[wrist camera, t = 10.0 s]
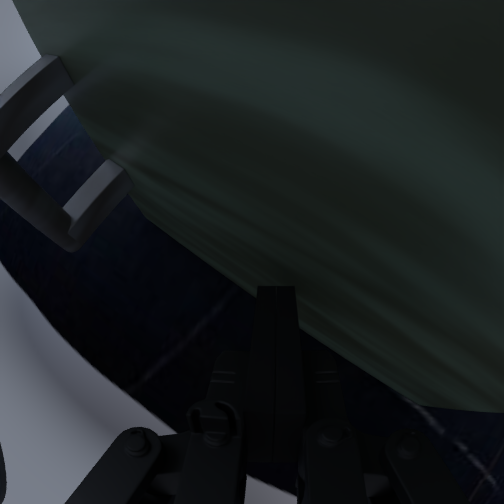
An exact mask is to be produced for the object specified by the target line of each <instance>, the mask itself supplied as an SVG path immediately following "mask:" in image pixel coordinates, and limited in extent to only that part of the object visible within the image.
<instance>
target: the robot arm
mask: <svg viewBox="0 0 504 504" xmlns="http://www.w3.org/2000/svg"><path fill="white" fill-rule="evenodd" d="M186 418H187V421H188V424H189V427H190V430H188V431H186V432H183V433H179V434H172V435H163V436H158V435H157V434H156V433H155V432H154V431H152V430H151V429H148V428H144V427H134V428H130V429H127V430H125V431H123V432H122V433H121V434H120V435H119V436H118V437H117V438H116V439H115V440H114V442H113V443H112V444H111V446H110V447H109V448H108V450H107V451H106V452H105V453H104V454H103V456H102V457H101V459H100V460H99V461H98V462H97V463H96V465H95V466H94V467H93V468H92V470H91V471H90V472H89V473H88V475H87V476H86V477H85V478H84V480H83V481H82V482H81V484H80V485H79V486H78V487H77V489H76V490H75V491H74V492H73V494H72V495H71V496H70V497H69V499H68V500H67V501H66V502H65V504H244V499H245V490H246V480H247V476H246V466H247V462H272V455H273V462H298V470H299V472H298V476H297V480H296V484H295V487H297V504H470V502H469V501H468V499H467V498H466V496H465V494H464V493H463V491H462V490H461V488H460V486H459V485H458V483H457V482H456V480H455V479H454V477H453V475H452V474H451V472H450V471H449V469H448V468H447V466H446V465H445V463H444V462H443V460H442V459H441V457H440V455H439V454H438V452H437V451H436V449H435V448H434V446H433V445H432V443H431V442H430V440H429V439H428V438H427V437H426V436H425V435H424V434H423V433H422V432H420V431H417V430H415V429H407V428H406V429H401V430H397V431H396V432H394V433H393V434H391V435H390V436H389V438H388V437H381V436H374V435H369V434H365V433H362V432H360V431H358V430H357V429H356V428H354V427H353V426H352V425H351V423H350V422H349V420H348V417H347V414H346V408H345V403H344V398H343V393H342V388H341V383H340V379H339V374H338V369H337V365H336V360H335V359H334V357H333V356H332V355H331V354H330V353H329V351H328V350H318V351H301V341H300V331H299V321H298V312H297V303H296V294H295V286H258V288H257V297H256V306H255V314H254V323H253V332H252V340H251V349H250V351H223V352H222V353H221V354H220V355H219V357H218V358H217V359H216V360H215V364H214V368H213V373H212V376H211V380H210V384H209V388H208V392H207V396H206V399H203V400H201V401H198V402H196V403H195V404H194V405H192V406H191V407H190V408H189V410H188V412H187V413H186ZM273 434H274V441H273Z"/></svg>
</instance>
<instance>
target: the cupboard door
mask: <svg viewBox="0 0 504 504" xmlns="http://www.w3.org/2000/svg"><path fill="white" fill-rule="evenodd" d="M13 3H14V5H15V7H16V9H17V11H18V12H19V15H20V16H21V19H22V21H23V23H24V25H25V27H26V29H27V31H28V33H29V34H30V36H31V38H32V40H33V42H34V44H35V46H36V48H37V49H38V51H39V53H40V55H41V57H42V58H40V59H39V60H38V61H37V62H35V63H34V64H33V65H32V66H31V67H29V68H28V69H27V70H26V71H25V72H24V73H23V74H22V75H20V76H19V77H18V78H17V79H16V80H15V81H14V82H13V83H12V84H10V85H9V86H8V87H7V88H6V89H5V90H4V91H3V92H2V93H1V94H0V198H1V199H2V200H3V201H4V202H5V203H7V204H8V205H9V206H10V207H11V208H12V209H14V210H15V211H16V212H17V213H18V214H20V215H21V216H22V217H23V218H25V219H26V220H27V221H28V222H29V223H31V224H32V225H33V226H35V227H36V228H37V229H38V230H40V231H41V232H42V233H43V234H45V235H46V236H47V237H49V238H50V239H51V240H53V241H54V242H55V243H57V244H58V245H59V246H61V247H62V248H63V249H65V250H66V251H68V252H75V251H77V250H79V249H80V248H81V247H82V246H83V244H84V243H85V242H86V241H87V239H88V238H89V237H90V236H91V235H92V233H93V232H94V231H95V230H96V229H97V227H98V226H99V225H100V224H101V223H102V222H103V220H104V219H105V218H106V217H107V216H108V215H109V213H110V212H111V211H112V210H113V209H114V208H115V207H116V206H117V204H118V203H119V202H120V201H121V200H122V199H123V198H124V197H125V196H126V195H127V194H129V195H130V196H131V198H132V199H133V201H134V202H135V203H136V205H137V206H138V207H139V209H140V210H141V212H142V213H143V214H144V216H145V217H146V218H147V219H148V220H150V221H151V222H152V223H154V224H155V225H156V226H158V227H159V228H160V229H162V230H163V231H164V232H166V233H167V234H168V235H170V236H171V237H172V238H174V239H175V240H176V241H178V242H179V243H180V244H182V245H183V246H184V247H186V248H187V249H188V250H190V251H191V252H192V253H194V254H195V255H197V256H198V257H199V258H201V259H202V260H203V261H205V262H206V263H208V264H209V265H210V266H212V267H213V268H214V269H216V270H217V271H219V272H220V273H221V274H223V275H224V276H226V277H227V278H228V279H230V280H231V281H233V282H234V283H235V284H237V285H238V286H240V287H241V288H242V289H244V290H245V291H247V292H248V293H250V294H251V295H252V296H254V297H255V298H256V297H257V288H258V286H295V294H296V303H297V312H298V321H299V328H300V329H302V330H303V331H305V332H306V333H308V334H309V335H311V336H312V337H314V338H315V339H317V340H318V341H320V342H321V343H323V344H324V345H326V346H327V347H329V348H330V349H332V350H333V351H335V352H336V353H338V354H339V355H341V356H342V357H344V358H345V359H347V360H348V361H350V362H351V363H353V364H354V365H356V366H358V367H359V368H361V369H362V370H364V371H365V372H367V373H368V374H370V375H372V376H373V377H375V378H376V379H378V380H379V381H381V382H383V383H384V384H386V385H387V386H389V387H391V388H392V389H394V390H395V391H397V392H399V393H400V394H402V395H403V396H405V397H407V398H408V399H410V400H411V401H413V402H415V403H416V404H418V405H424V406H431V407H439V408H448V409H457V410H468V411H481V412H498V413H504V0H13ZM62 95H64V96H65V98H66V100H67V101H68V103H69V105H70V106H71V108H72V109H73V111H74V113H75V114H76V116H77V117H78V119H79V121H80V122H81V124H82V125H83V127H84V128H85V130H86V132H87V133H88V135H89V136H90V138H91V139H92V141H93V142H94V144H95V145H96V147H97V148H98V150H99V151H100V153H101V154H102V156H103V157H104V159H105V160H106V161H105V162H104V163H103V164H102V165H101V166H100V167H99V168H98V169H97V170H96V171H95V173H94V174H93V175H92V176H91V177H90V178H89V179H88V180H87V181H86V182H85V183H84V184H83V185H82V187H81V188H80V189H79V190H78V191H77V192H76V193H75V194H74V195H73V197H72V198H71V199H70V200H69V201H68V202H67V204H66V205H65V206H64V207H63V208H62V207H61V206H60V205H59V204H58V203H57V202H56V201H55V200H54V199H53V198H52V197H51V196H50V195H49V194H47V193H46V192H45V191H44V190H43V189H42V187H41V186H40V185H39V184H38V183H37V182H36V181H35V180H34V179H33V178H32V177H31V176H30V175H29V174H28V173H27V172H26V171H25V170H24V169H23V168H22V167H21V166H20V165H19V164H18V162H17V161H16V160H15V159H14V158H13V157H12V156H11V155H10V154H9V153H8V152H7V151H8V149H9V148H10V147H11V146H12V145H13V144H14V143H15V142H16V140H17V139H18V138H19V137H20V136H21V135H22V134H23V133H24V132H25V131H26V130H27V129H28V128H29V126H31V125H32V124H33V123H34V122H35V121H36V120H37V119H38V118H39V117H40V115H42V114H43V113H44V112H45V111H46V110H47V109H48V108H49V107H50V106H51V105H52V104H53V103H54V102H56V101H57V100H58V99H59V98H60V97H61V96H62Z"/></svg>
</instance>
